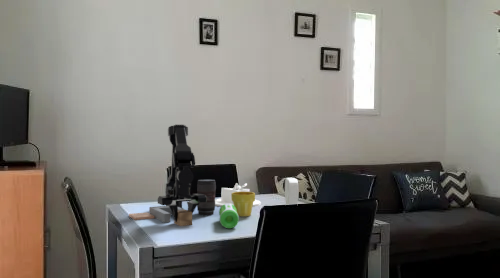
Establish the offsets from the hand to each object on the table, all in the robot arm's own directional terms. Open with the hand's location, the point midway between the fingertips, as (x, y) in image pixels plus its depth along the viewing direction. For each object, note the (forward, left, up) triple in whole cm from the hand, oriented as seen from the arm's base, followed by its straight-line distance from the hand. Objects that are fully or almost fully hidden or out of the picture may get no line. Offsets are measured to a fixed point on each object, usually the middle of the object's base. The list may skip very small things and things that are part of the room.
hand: (182, 221), depth 179 cm
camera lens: (-18, -15, -1) cm, 23 cm away
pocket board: (0, -14, -1) cm, 14 cm away
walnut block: (0, +1, -1) cm, 1 cm away
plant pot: (-31, -5, -1) cm, 31 cm away
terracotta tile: (+10, -20, -1) cm, 22 cm away
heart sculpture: (-40, +18, -1) cm, 44 cm away
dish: (-44, -34, -2) cm, 55 cm away
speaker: (-16, +9, -1) cm, 18 cm away
